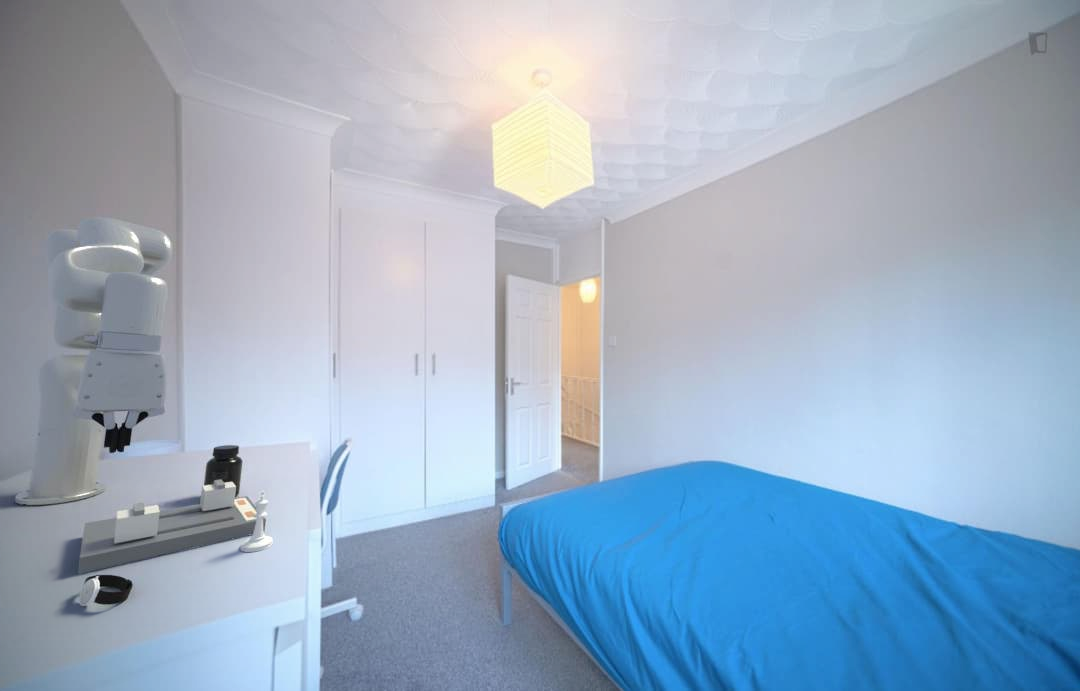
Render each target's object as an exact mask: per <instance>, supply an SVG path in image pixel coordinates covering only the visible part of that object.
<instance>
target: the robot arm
mask: <svg viewBox="0 0 1080 691" xmlns="http://www.w3.org/2000/svg"><path fill="white" fill-rule="evenodd" d="M44 245H45V249H44V250H45V259H46V262H47V267H48V268H49V269H48V287H49V294H50V297H51V300H52V302H53V303H54V304H55V312H54V323H53V339H54V341H55V343H56V344H57V345H58V346H60V347H61V348H65V349H68V350H69V349H70V350H77V351H78V350H81V351H89V352H88V353H87V354H62V355H56V356H52V357H50V358H48V359H47V358H46V360H44V361H43V362H42V363H41V364H40V366H39V367H38V371H37V372H38V373H37V380H38V389H39V390H38V391H39V411H38V412H39V413H38V418H37V419H38V420H37V428H36V436H35V444H34V450H33V456H32V463H31V470H30V476H29V477H30V478H29V484H28V490H27V489H26V490H25V491H22V492H19V493H18V494H16V496H15V497H14V498H15V499H14V502H15V503H16V504H18V505H23V504H26V505H25V506H38V505H39V506H44V505H56V504H61V503H69V502H73V501H74V502H75V501H79V500H83V499H86V498H87V499H88V498H91V497H94V496H97V495H98V494H101V493H103V491H105V489H106V484H105V483H103V482H101V481H99V482H98V481H97V475H98V467H99V460H100V453H101V445H102V438H103V432H104V431H103V430H104V428H105V434H104V440H103V448H108V452H109V454H115V453H116V452H118V453H124V452H125V447H129V446H131V441H132V440H131V439H132V432H133V428H134V427H135V426H137V425H138V424H139V423H141V422H142V421H144V420H146V419H147V418H151V417H157V416H161V415H164V414H165V412H166V411H165V406H164V405H165V402H166V394H167V380H168V366H167V356H166V354H164V353H160V351H161V344H162V336H163V329H164V319H165V313H166V308H167V305H168V298H169V297H168V296H169V295H168V284H167V282H166V281H165V280H164V279H163V278H160V277H158V276H155V275H156V274H157V273H158V272H159V271H162V269H163V268H165V267H166V266H167V265H168V264H169V262H170V261H171V259H172V255H173V244H172V241H171V238H169V236H168V235H167V234H166V233H165V232H163V231H161V230H158V229H156V228H152V227H148V226H145V225H140V224H135V223H133V222H128V221H123V220H121V219H116V218H112V217H104V216H93V217H88V218H85V219H84V220H82V221H81V222H79V224H78V225H77V229H71V228H69V229H68V228H61V229H55V230H52V231H51V232H49V233H48V235H47V237H46V239H45V244H44ZM115 412H127V413H126V416H125V419H124V422H122V423H121V425H120V426H119V427H118V423H116V420H115Z"/></svg>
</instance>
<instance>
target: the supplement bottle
mask: <svg viewBox="0 0 1080 691" xmlns="http://www.w3.org/2000/svg"><path fill="white" fill-rule="evenodd" d="M239 449H240V446H239V445H235V444H226V445H217V446H215V447H213V451H212V458H211V459H209V460H208V461H207V463H206V466H205V473H204V482H203V486H205V485H212V484H214V480H220V479H222V481H223V482H224V483H226V482H233V483H234V484H235V486H236V492H235V498H237V497H238V496H239V493H240V488H241V479H242V471H243V470H242V469H243V458H242V457H240V456H238V455H239V453H240V452H239Z"/></svg>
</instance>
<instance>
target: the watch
mask: <svg viewBox="0 0 1080 691" xmlns="http://www.w3.org/2000/svg"><path fill="white" fill-rule="evenodd" d="M133 586H134V584H133V582H132V580H130V579H127V578H125V577H123V576H120V575H113V574H96V575H91V576H88V577H86V578H85V580H84V582H83V585H82V588H81V590H80V592H79V595H78V596H79V599H78V601H79V605H80V606H82V607H85V606H86V607H87V606H90V605H91V604H98V605H105V606H106V605H118V604H119V603H123V602H125V601H126V600H128V599H129V596H130V594H131V591H132V589H133ZM101 588H109V589H117V590H118V591H108V590H107V591H106V590H102V589H101Z"/></svg>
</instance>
